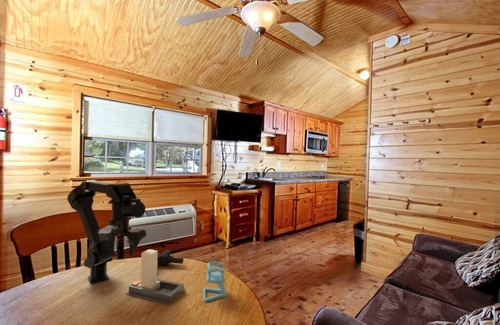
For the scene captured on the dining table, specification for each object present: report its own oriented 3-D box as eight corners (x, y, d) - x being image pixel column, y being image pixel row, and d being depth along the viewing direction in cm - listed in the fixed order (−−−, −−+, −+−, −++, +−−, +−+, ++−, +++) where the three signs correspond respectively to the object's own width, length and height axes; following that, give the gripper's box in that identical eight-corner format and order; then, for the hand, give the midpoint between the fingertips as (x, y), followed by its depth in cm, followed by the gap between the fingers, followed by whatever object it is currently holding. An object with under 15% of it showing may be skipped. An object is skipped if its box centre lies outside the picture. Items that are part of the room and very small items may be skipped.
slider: (137, 290, 89) (137, 253, 89) (147, 283, 94) (148, 248, 94) (150, 293, 87) (151, 255, 87) (160, 286, 93) (160, 250, 92)
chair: (227, 300, 86) (228, 266, 86) (203, 302, 85) (205, 268, 84) (224, 288, 94) (225, 258, 94) (203, 290, 92) (204, 259, 92)
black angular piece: (191, 249, 122) (163, 247, 124) (175, 261, 103) (142, 258, 105) (191, 259, 122) (162, 257, 124) (174, 273, 103) (141, 271, 104)
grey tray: (126, 294, 88) (126, 286, 88) (146, 281, 97) (146, 274, 97) (168, 304, 82) (168, 296, 82) (184, 290, 92) (185, 282, 92)
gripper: (81, 219, 87) (82, 262, 87) (125, 221, 83) (126, 266, 83) (106, 213, 98) (107, 251, 98) (146, 214, 94) (147, 254, 94)
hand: (121, 255), depth 93 cm, fingers open, 9 cm apart
